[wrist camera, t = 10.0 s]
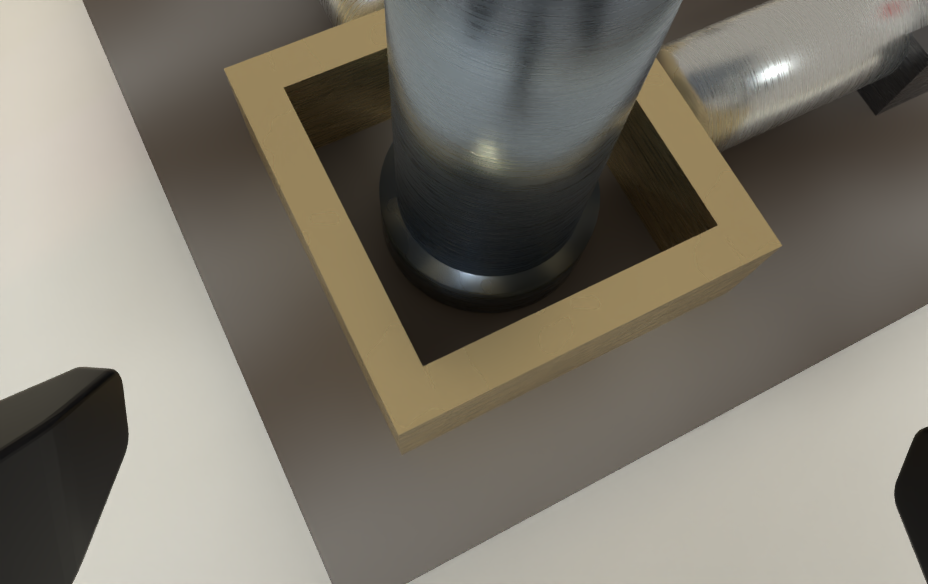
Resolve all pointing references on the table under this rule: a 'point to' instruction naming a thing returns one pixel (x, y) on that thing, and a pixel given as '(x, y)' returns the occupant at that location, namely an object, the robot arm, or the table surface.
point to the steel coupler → (505, 137)
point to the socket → (631, 162)
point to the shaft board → (448, 329)
